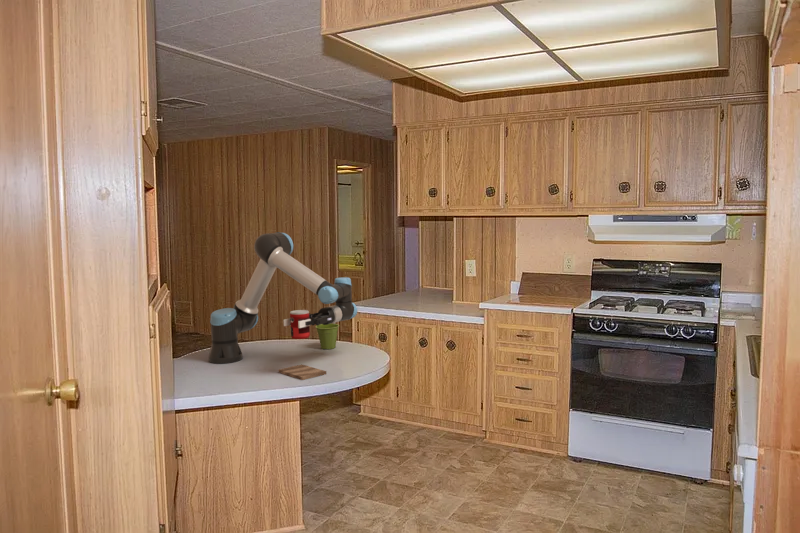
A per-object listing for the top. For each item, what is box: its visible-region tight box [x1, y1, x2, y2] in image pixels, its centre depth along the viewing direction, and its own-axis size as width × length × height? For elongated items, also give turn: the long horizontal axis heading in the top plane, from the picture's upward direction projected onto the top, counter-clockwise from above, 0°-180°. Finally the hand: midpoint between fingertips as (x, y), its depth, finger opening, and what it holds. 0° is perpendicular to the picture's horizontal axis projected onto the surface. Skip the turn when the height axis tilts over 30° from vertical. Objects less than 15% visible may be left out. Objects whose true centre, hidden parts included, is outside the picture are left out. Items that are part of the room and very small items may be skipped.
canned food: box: [289, 309, 311, 340], centre depth 254 cm, size 8×8×11 cm
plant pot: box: [314, 323, 340, 350], centre depth 302 cm, size 12×12×11 cm
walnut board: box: [278, 364, 327, 381], centre depth 256 cm, size 18×12×1 cm, turn 43°
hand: (291, 323), depth 250 cm, fingers closed on canned food, 8 cm apart
